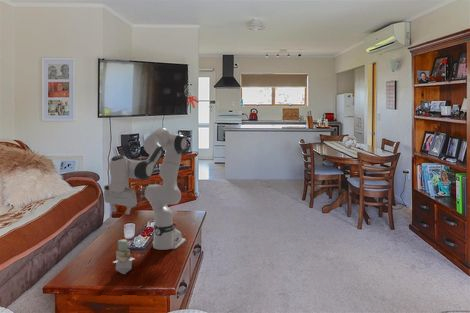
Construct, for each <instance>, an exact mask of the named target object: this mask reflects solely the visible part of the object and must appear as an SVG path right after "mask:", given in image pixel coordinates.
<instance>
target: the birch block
mask: <svg viewBox="0 0 470 313" xmlns="http://www.w3.org/2000/svg"><path fill="white" fill-rule="evenodd" d="M115 256H116V257H115V258H116V260H118V261H122V262H124V261H126V260H128V259H130V257H131V250H130V249H129V248H128V250H127V251H124V252H119V251H118V249H117V250H116V251H115ZM116 260H115V261H116Z"/></svg>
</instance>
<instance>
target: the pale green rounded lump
mask: <svg viewBox="0 0 470 313" xmlns="http://www.w3.org/2000/svg"><path fill="white" fill-rule="evenodd" d="M128 249H129V248H128V240H127V239H119V240H117V250H118V251H119V252H124V251H127V250H128Z"/></svg>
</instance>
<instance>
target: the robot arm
mask: <svg viewBox="0 0 470 313" xmlns="http://www.w3.org/2000/svg"><path fill="white" fill-rule="evenodd" d="M187 146H188V141H187V137H186V136H185V135H183V134H180V133H179V134H178V133H173V132H172V133H171V132H170V131H169V130H168V129H167V128H164V127H159V128H156V129H155V130H154V131H152V132H151V133H150V134H148V136H147V137H146V138H145V140H144V141H143V149H144V151H145V152H146V153H147V154H148V155H149V156H148V157H147V159H144V160H134V159H130V158H127V157H126V155H122V154H119V155H115V156H112V157H111V158H110V163H109V171H110V172H109V175H110V183H109V184H105V185H104V186H103V190H104V192H103V199H104V202H105V203H106V204H107V203H108V204H109V206H110V207H111V211H112V212H114V213H116V212H117V210H118V209H117V207H116V205H118V206H124V207H126V210H125V214H126V215H130V214H131V209H132V208H133V207H136V206H137V204H138V199H137V194H136V191H135V190H134V189H133V188H130V187H129V186H130V184H129V178H131V179H138V180H141V181H146V180H148V179H150V178H151V177H152V175H153V172H154V170H155V168H156V166H157V164H158V163H159V161H160V160H161V158H162V156H163V154H164V151H166V152H165V154H164V157H163V160H162V163H161V166H160V169H159V177H160V178H161V180H162V185H161V184H156V183H155V184H149V185H147V186H146V187H145V190H144V197H145V199H146V200H147V201H148V202H149V204H150V206H151V207H152V210H153V217H154V218H153V219H154V225H153V228H154V229H153V230H154V231H153V240H152V248H153V249H155V250H158V251H159V250H160V251H162V250H163V251H164V250H166V251H167V250H171V249H172V250H175V249H177V248H178V247H180V246H181V245H183V244H184V243H185V242H186V238H185V237H183V235H182V231H180V230H178V229H177V228H176V227H177V225H178V223H177V222H173V211H172V209H171V208H169V206H168V205H177V204H178V203H180V201H181V199H182V192H181V190H180V189H179V186H178V182H177V180H178V173H179V170H180V167H181V166H180V165H181V161H182V154H183V152H184V151H185V150H186V149H187Z"/></svg>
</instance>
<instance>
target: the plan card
mask: <svg viewBox="0 0 470 313" xmlns="http://www.w3.org/2000/svg"><path fill="white" fill-rule="evenodd" d="M129 260H130V261H132V262H133V261H134V260H136V258H134V257H132V256H130V259H129ZM117 261H118V260H114V261H112V263H113V264H115V263H117Z"/></svg>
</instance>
